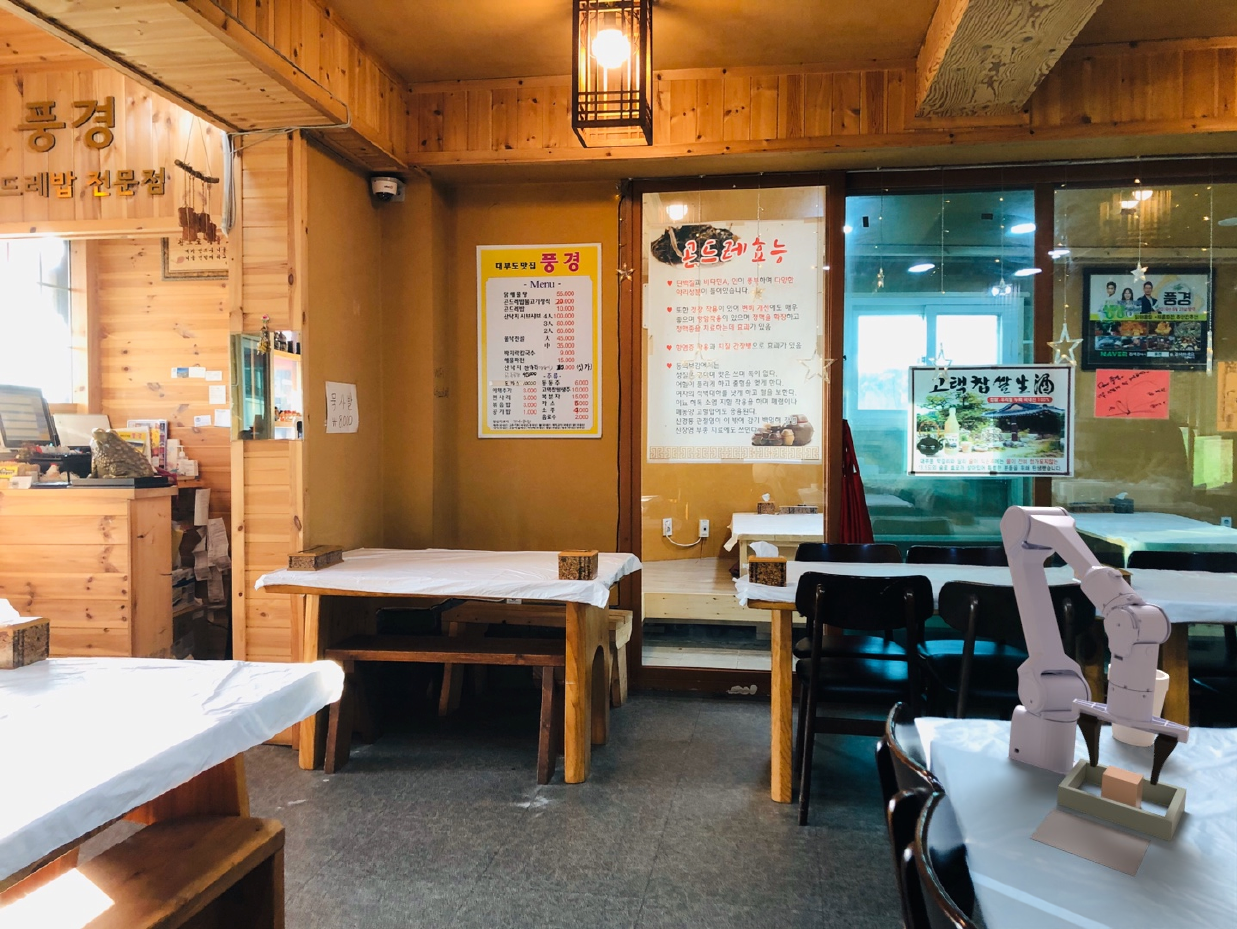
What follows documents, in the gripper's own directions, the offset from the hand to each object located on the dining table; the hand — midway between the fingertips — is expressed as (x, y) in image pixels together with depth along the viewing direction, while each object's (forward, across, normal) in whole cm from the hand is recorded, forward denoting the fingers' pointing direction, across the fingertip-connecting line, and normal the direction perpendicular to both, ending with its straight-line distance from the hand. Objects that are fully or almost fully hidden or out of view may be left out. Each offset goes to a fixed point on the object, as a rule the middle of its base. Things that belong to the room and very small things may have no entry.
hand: (1123, 773), depth 116 cm
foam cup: (+6, -4, +34) cm, 35 cm away
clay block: (+5, 0, 0) cm, 5 cm away
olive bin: (+6, 0, 0) cm, 6 cm away
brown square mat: (+6, -1, -15) cm, 16 cm away
